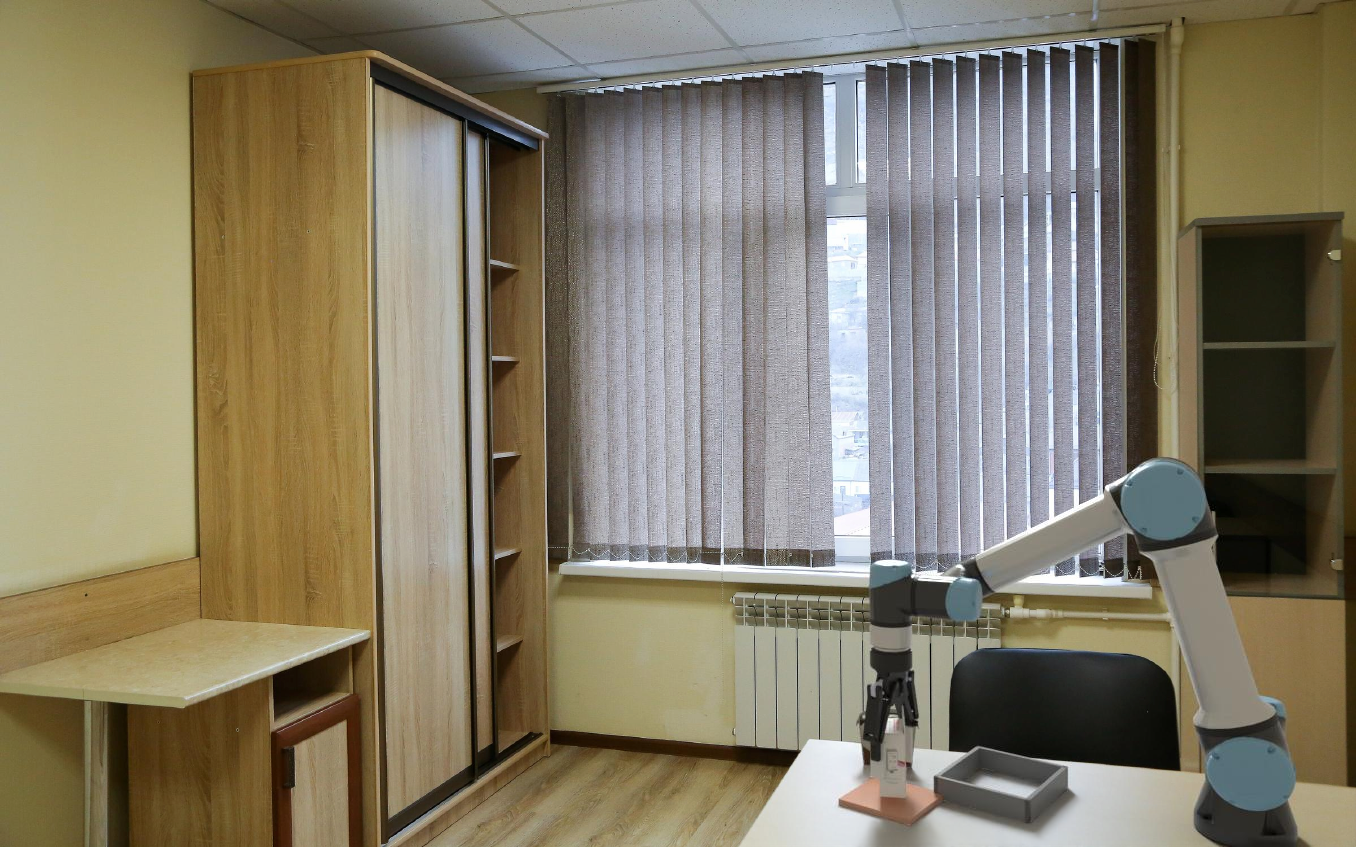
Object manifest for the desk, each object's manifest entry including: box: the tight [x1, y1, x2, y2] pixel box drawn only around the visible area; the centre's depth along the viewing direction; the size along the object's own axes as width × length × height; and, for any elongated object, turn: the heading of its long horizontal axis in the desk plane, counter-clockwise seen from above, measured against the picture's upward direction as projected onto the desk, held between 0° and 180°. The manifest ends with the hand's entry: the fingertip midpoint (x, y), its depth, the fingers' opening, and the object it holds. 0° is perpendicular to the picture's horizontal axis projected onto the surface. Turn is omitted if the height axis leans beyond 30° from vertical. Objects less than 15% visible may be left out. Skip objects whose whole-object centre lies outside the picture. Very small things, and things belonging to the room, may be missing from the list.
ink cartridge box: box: [879, 705, 907, 798], centre depth 178 cm, size 9×5×15 cm, turn 168°
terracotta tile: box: [838, 777, 944, 826], centre depth 179 cm, size 14×14×1 cm
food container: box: [855, 708, 920, 769], centre depth 198 cm, size 12×6×10 cm, turn 80°
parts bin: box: [933, 745, 1069, 824], centre depth 182 cm, size 18×20×4 cm
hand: (892, 768), depth 179 cm, fingers closed on ink cartridge box, 9 cm apart
